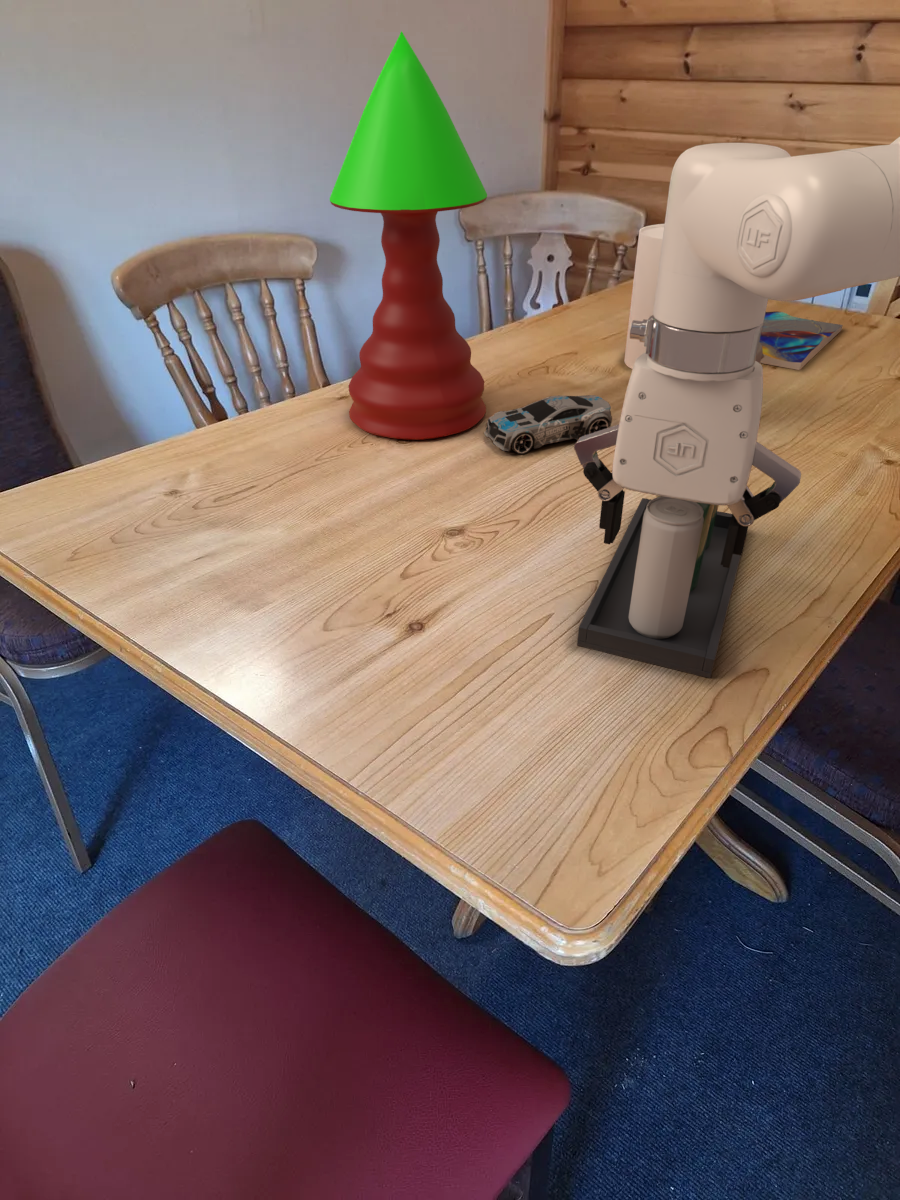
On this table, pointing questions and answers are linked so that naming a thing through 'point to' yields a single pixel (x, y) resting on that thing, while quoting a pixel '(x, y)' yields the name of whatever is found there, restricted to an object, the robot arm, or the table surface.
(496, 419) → the toy car
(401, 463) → the table surface
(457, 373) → the table lamp
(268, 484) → the table surface
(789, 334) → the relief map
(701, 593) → the tray
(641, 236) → the canister
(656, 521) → the beverage can
